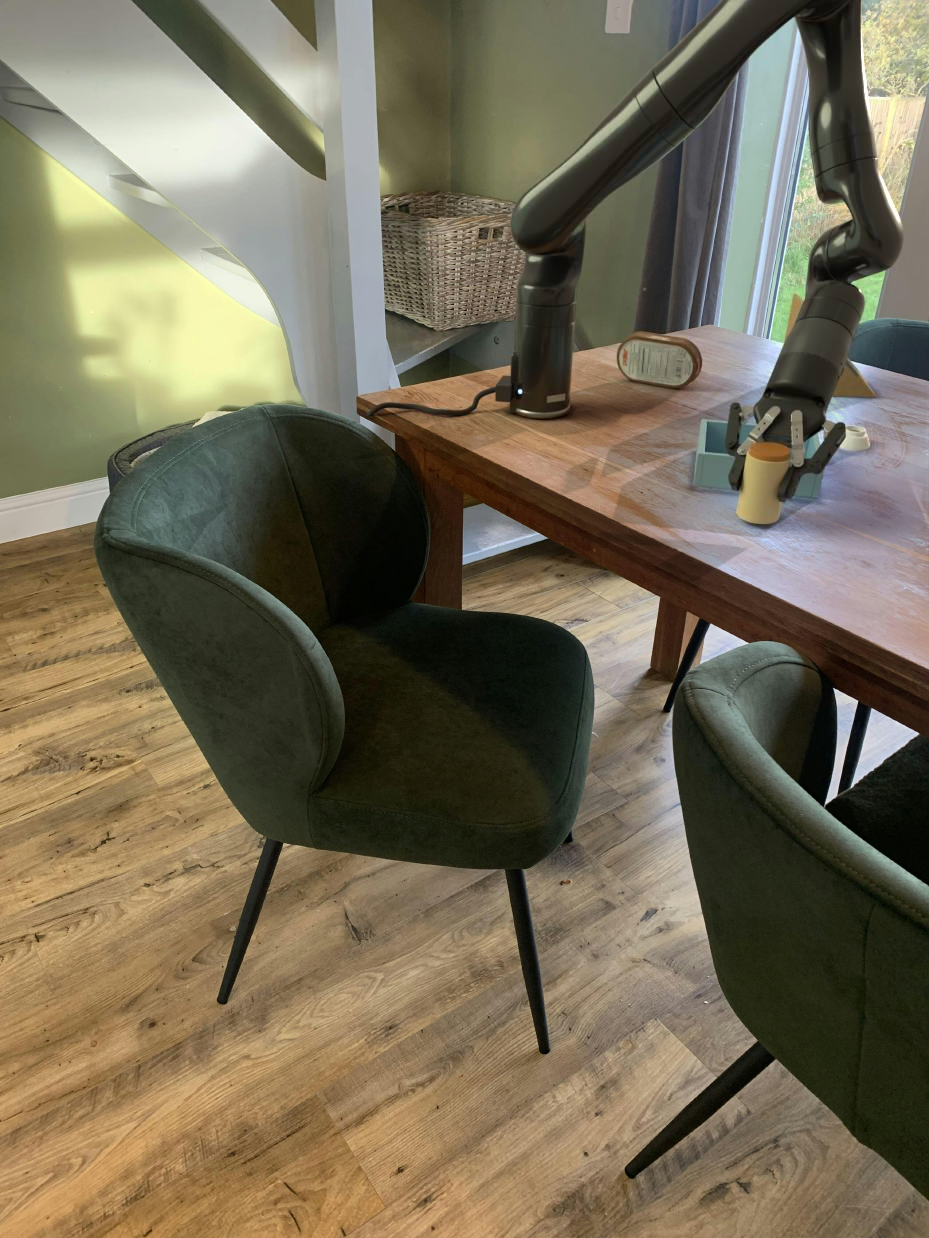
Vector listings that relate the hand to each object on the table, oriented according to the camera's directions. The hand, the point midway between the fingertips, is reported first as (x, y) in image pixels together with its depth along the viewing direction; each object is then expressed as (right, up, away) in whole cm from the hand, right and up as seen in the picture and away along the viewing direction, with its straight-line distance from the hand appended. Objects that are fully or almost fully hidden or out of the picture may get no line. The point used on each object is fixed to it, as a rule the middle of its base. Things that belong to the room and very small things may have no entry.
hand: (757, 493), depth 103 cm
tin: (-1, +27, +52) cm, 58 cm away
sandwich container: (+28, +25, +49) cm, 62 cm away
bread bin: (+5, +5, +16) cm, 18 cm away
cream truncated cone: (+22, +10, +25) cm, 35 cm away
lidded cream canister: (+1, -2, +3) cm, 4 cm away
